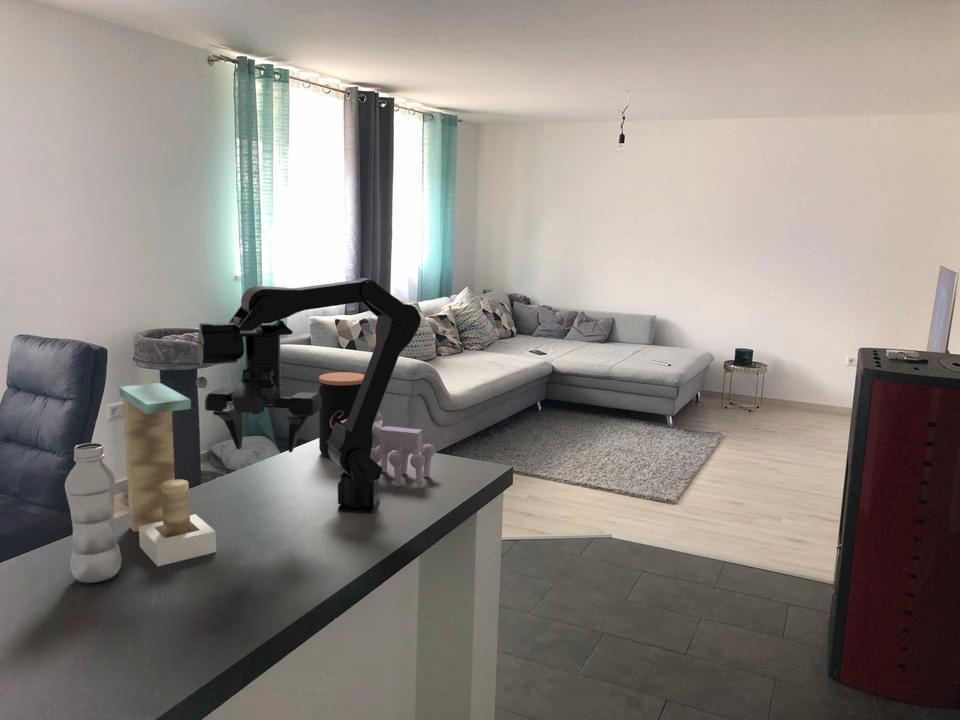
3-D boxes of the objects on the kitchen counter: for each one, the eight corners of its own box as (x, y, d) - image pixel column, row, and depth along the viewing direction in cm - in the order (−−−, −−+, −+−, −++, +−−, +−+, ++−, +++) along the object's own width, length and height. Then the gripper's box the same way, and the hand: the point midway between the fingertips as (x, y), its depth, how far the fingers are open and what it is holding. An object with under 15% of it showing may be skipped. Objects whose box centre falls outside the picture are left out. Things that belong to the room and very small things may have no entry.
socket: (196, 533, 131) (195, 514, 130) (216, 552, 124) (215, 531, 123) (139, 546, 125) (138, 526, 124) (157, 566, 118) (156, 544, 118)
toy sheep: (328, 480, 159) (329, 415, 158) (350, 467, 169) (351, 406, 168) (421, 491, 154) (423, 423, 153) (437, 477, 164) (439, 414, 163)
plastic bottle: (130, 578, 114) (122, 446, 111) (81, 593, 109) (72, 456, 106) (111, 564, 118) (104, 437, 115) (64, 578, 113) (54, 446, 110)
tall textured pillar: (171, 518, 137) (165, 382, 133) (202, 546, 126) (197, 398, 121) (126, 528, 132) (119, 386, 128) (154, 558, 121) (146, 404, 117)
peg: (196, 548, 125) (193, 482, 123) (174, 556, 122) (171, 489, 120) (181, 542, 127) (178, 477, 125) (159, 550, 124) (155, 484, 122)
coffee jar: (327, 463, 171) (326, 382, 167) (313, 450, 180) (313, 373, 177) (373, 457, 175) (373, 379, 172) (358, 445, 185) (358, 370, 182)
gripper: (187, 367, 125) (191, 461, 127) (301, 372, 123) (302, 467, 126) (217, 356, 136) (220, 442, 138) (322, 360, 134) (323, 448, 137)
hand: (264, 450), depth 134 cm, fingers open, 9 cm apart
